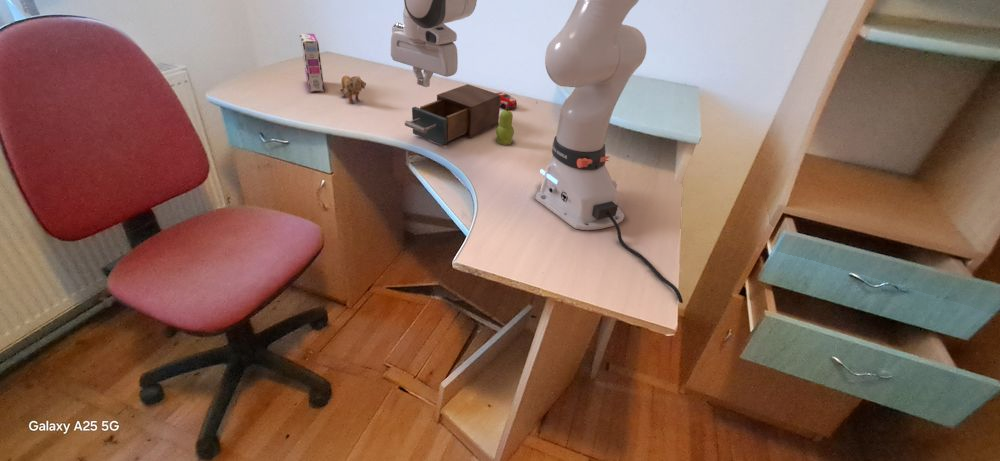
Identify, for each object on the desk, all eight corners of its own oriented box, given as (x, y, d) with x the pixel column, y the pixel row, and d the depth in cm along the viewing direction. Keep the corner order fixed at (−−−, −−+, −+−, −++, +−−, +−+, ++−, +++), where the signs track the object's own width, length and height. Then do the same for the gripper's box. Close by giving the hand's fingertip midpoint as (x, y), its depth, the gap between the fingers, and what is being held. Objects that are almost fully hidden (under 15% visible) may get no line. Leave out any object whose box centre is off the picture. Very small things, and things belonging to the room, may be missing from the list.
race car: (479, 101, 160) (479, 90, 158) (488, 97, 164) (489, 86, 161) (509, 111, 154) (510, 100, 152) (518, 107, 158) (519, 96, 155)
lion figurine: (369, 104, 149) (367, 76, 144) (355, 107, 146) (352, 79, 141) (347, 90, 157) (344, 64, 152) (333, 93, 154) (329, 66, 149)
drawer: (430, 152, 123) (430, 125, 118) (398, 139, 128) (397, 112, 123) (473, 132, 136) (474, 107, 131) (443, 120, 141) (443, 96, 136)
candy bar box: (325, 92, 155) (318, 41, 145) (310, 93, 153) (301, 41, 143) (321, 81, 163) (314, 32, 153) (306, 82, 161) (298, 33, 151)
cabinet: (470, 138, 134) (471, 106, 129) (436, 125, 140) (436, 94, 134) (498, 124, 145) (500, 94, 139) (466, 112, 150) (467, 84, 145)
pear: (516, 144, 134) (520, 109, 127) (499, 146, 132) (502, 110, 125) (508, 136, 138) (511, 102, 131) (492, 138, 135) (494, 103, 129)
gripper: (382, 22, 113) (386, 78, 121) (444, 38, 104) (444, 98, 112) (401, 19, 117) (403, 74, 125) (462, 35, 108) (460, 92, 116)
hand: (423, 85), depth 118 cm, fingers closed
